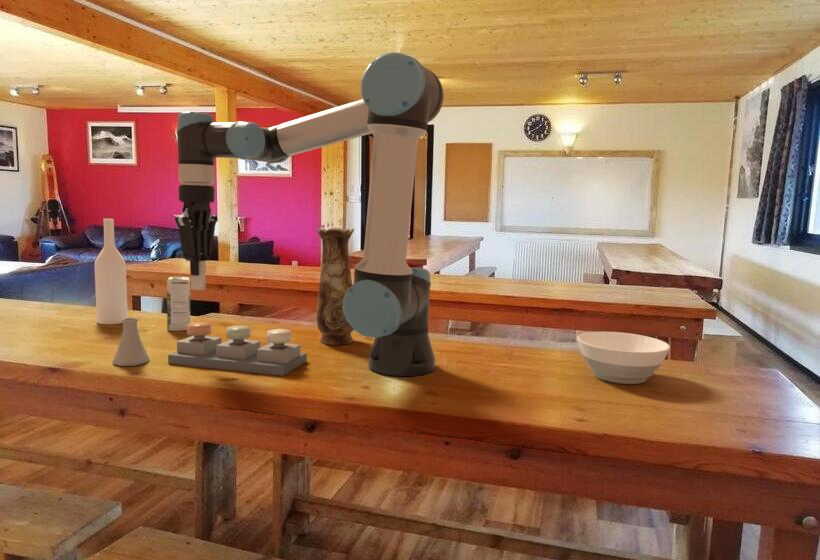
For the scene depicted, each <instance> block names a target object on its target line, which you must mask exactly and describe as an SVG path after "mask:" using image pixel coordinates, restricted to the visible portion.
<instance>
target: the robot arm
mask: <svg viewBox="0 0 820 560" xmlns="http://www.w3.org/2000/svg"><path fill="white" fill-rule="evenodd" d="M362 75H363V76H362V79H361V82H360V93H361V96H362V97H361V98H362V99H357V100H355V101H352V102H349V103H344V104H341V105H338V106H335V107H331V108H329V109H325V110H323V111H318V112H316V113H312V114H309V115H306V116H302V117H299V118H296V119H293V120H290V121H286V122H283V123H280V124H277V125H273V126H270V127H266V128H265V127H260V125H259V124H258V123H256V122H252V121H243V120H238V121H228V122H227V121H223V122H219V121H218V122H216V121H215V120H214V117H213V115H212V114H210V113H206V112H198V111H195V112H194V111H183V112H180V113H179V114H178V116H177V128H176V129H177V130H176V136H177V137H176V139H177V149H178V150H177V155H178V158H177V159H178V160H177V161H178V163H177V164H178V182H179V183H181V185H180V184H179V186H178V201H179V202H181V203H183V207H182V211H181V212H182V213H181V214H180V215H176V216H175V217H174V221H175V223H176V225H177V227H178V228H177V229H178V234H179V239H180V245H181V251H182V252H181V253H182V257H183V259H184V260H185V261H187V262H189V273H190V290H196V291H205V290H206V261H208V262H209V261H210V260H211V257H212V253H213V249H214V247H213V246H214V237H215V230H216V224H217V222H218V216H217V215H214V214H212V208H211V205H210V204H213V203H215V201H216V200H215V196H216V195H215V187H214V185H213V184H215V159H218V158H222V159H223V158H227V159H239V160H240V159H241V160H249V161H256V162H257V161H258V162H264V163H268V164H281V163H284V162H286V160H288V159H289V157H291V156H292V157H293V156H295V155H298V154H301V153H302V154H303V153H307V152H309V151H314V150H317V149H320V148H325V147H328V146H332V145H335V144H338V143H342V142H346V141H349V140H353V139H357V138H360V137H364V136H367V135H371V134H372V136H373V143H372V144H373V145H372V155H371V156H372V157H371V164H370V165H371V166H370V180H369V189H368V199H367V200H368V201H367V212H366V223H365V234H364V243H363V244H364V246H363V255H362V256H363V257H362V259H361V260H360V261H359V262H358V263H356V264H355V266H354V273H353V282H352V286H351V287H350V288H349V289H348V290H347V292H346V294H345V296H344V299H343V312H344V315H345V318H346V320H347V322H348V323H349V324H350V325H351V327H352V328H353V329H354V330H353V331H355V332H356V333H358V334H360V336H364V337H366V338H372V339H373V338H374V341H373V344H372V346H371V349H370V353H369V356H368V368H369V370H371V371H373V372H375V373H378V374H380V375H381V374H382V375H387V376H395V377H414V376H415V377H416V376H422V375H426V374H430V373H432V372H433V371H435V369H436V357H435V354H434V349H433V346H432V343H431V340H430V335H429V326H430V324H429V323H430V299H431V298H430V296H431V295H430V292H431V285H432V282H431V274H430V272H429V270H428V269H426V268H423V267H421V268H419V267H410V266H409V264H408V263H407V257H408V254H407V253H408V245H409V234H410V226H411V225H410V222H411V216H412V215H411V214H412V213H411V212H412V204H413V193H414V184H415V183H414V182H415V172H416V164H417V155H418V154H417V153H418V146H419V145H418V143H419V140H420V139H421V138H422V137H424V136H425V135H426V134H427V132H428V123H430V122H431V121H433V120H434V119H435V118H436V117H437V115H439V113H440V111H441V109H442V106H443V103H444V89H443V84H442V83H441V81H440V79H439V77H438V76H437V75H436V74H435V73H434V72H433V71H432V70H431V69H428V68H427V67H425V66H424V65H422V64H421V62H419V60H417V59H416V58H415V57H413V56H410V55H407V54H405V53H402V52H388V53H383V54H381V55H380V56H377V57H376V58H375V59H374V60H373V61H372V62H370V64H369V65H368V66H367V68H366V69H365V70H364V73H363V74H362ZM212 185H213V186H212Z"/></svg>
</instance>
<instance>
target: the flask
mask: <svg viewBox="0 0 820 560" xmlns="http://www.w3.org/2000/svg"><path fill="white" fill-rule="evenodd" d="M121 321H122V322H123V323H122V333H121V338H120V341H119V343H118V347H117V350H116V352H115V354H114V358H113V360H112V365H116V366H119V367H135V366H138V365H142V364H147V362H149V361H150V360H151V359H150V356H149V354H148V353H147V349H146V348H145V346H144V344H143V341H142V339H141V337H140V335H139V330H138V329H139V328H138V321H139V318H137V317H128V318H124V319H122V320H121Z"/></svg>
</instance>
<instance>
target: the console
mask: <svg viewBox="0 0 820 560" xmlns="http://www.w3.org/2000/svg"><path fill="white" fill-rule="evenodd" d="M307 354H308V353H307V352H301V344H296V343H295V344H294V343H285V349H283V350H282V349H274V343H270V342H268V343H267V344H265V345H264V346H261V341H260V340H253V339H244V345H242V346H241V345H233V339H228V340H226V341H224V342H222V337H221V336H220V337H219V336H210V335H209V336H208V335H205V341H202V342H199V341H194V336H193V335H190V336H188V337H186V338H182V339H180V340H177V341H176V351H175V352H174V351H173V352H172V353H168V355H167V364H170V365H181V366H188V367H197V368H198V367H199V368H205V369H207V368H208V369H216V370H226V371H235V372H243V373H244V372H245V373H251V374H262V375H273V376H281V377H282V376H283V377H285V376H286V375H287V374H289V373H291V372H292V371H294V370H296V369H297V368H299V367H300V366H302V365H304V364H305V363H306V362H307V361H308V357H307V356H308V355H307Z"/></svg>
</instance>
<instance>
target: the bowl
mask: <svg viewBox="0 0 820 560" xmlns="http://www.w3.org/2000/svg"><path fill="white" fill-rule="evenodd" d="M576 339H577V343H578V347H579V351H580V353H581V355H582V357H583V359H584V361H585V362H586V363H587V366H588V368H589V369H590V370H591V371H592V373H593V375H594V376H595V377H596V378H598V379H600V380H602V381H605V382H610V383H614V384H620V385H638V384H643V383H645V382H646V381H647V380H648V378H650V377H651V376H653V375H654V372H655V371H656V370H658V369H659V368H660V366H661V365H662V363H664V361H665V359H666V358H667V355H668V353H669V351H670V349H671V346H670V345H669V343H667V342H665V341H664V340H661V339H658V338H654V337H651V336H647V335H642V334H635V333H630V332H619V331H588V332H584V333H580V334H578V335H577V336H576Z"/></svg>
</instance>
